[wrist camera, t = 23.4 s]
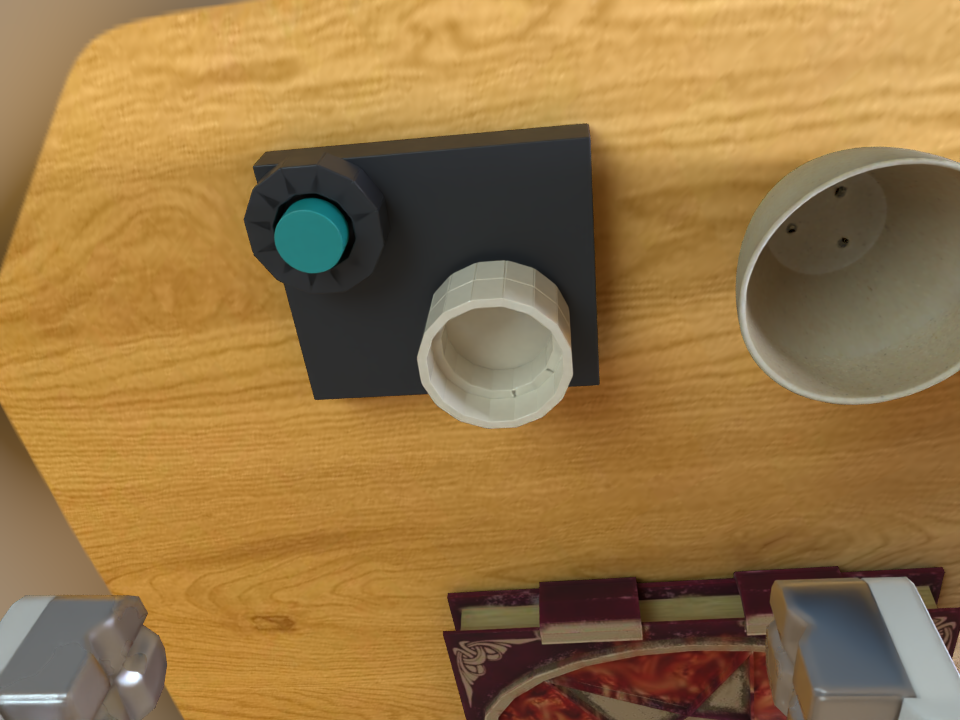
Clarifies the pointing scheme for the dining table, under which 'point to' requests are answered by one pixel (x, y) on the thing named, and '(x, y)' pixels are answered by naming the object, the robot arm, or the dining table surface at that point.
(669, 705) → the book
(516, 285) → the bowl
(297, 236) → the button
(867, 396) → the flower pot
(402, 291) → the scale
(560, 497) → the dining table surface
